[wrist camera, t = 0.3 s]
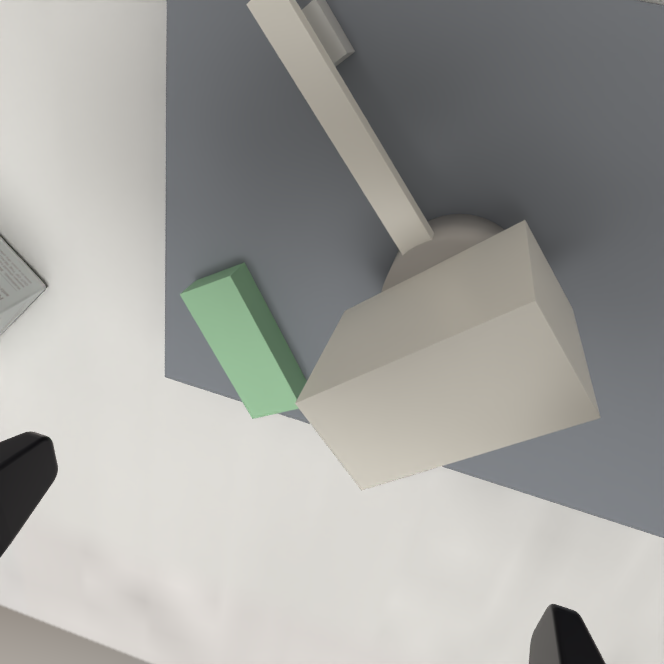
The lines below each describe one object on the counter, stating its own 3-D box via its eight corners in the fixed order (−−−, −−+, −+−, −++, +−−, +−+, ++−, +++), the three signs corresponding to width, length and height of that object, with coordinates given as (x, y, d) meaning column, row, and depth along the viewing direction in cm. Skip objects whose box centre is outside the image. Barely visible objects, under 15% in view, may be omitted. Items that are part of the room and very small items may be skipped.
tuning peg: (573, 292, 17) (614, 442, 11) (414, 358, 20) (375, 509, 14) (375, -84, 14) (274, -170, 8) (217, 60, 17) (49, 81, 11)
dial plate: (986, 72, 14) (1087, 81, 11) (656, 509, 23) (674, 566, 20) (192, -82, 17) (141, -99, 14) (181, 359, 26) (149, 393, 23)
